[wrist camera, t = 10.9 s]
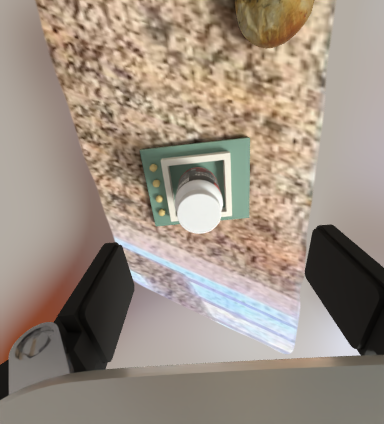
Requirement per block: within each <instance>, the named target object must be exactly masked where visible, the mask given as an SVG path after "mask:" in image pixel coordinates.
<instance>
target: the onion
mask: <svg viewBox="0 0 384 424" xmlns="http://www.w3.org/2000/svg"><path fill="white" fill-rule="evenodd" d="M313 3H314V0H235V9H236V16H237V21H238V25H239V28H240V30H241V32H242V34H243V36H244V37H245V38H246V39H247V40H248V41H249V42H250V43H252V44H254V45H256V46H258V47H262V48H273V47H276V46H279V45H281V44H284V43H285V42H287V41H288V40H289V39H290V38H292V37H293V36H294V35H295V34H296V33H297V32H298V31H299V30H300V29H301V27H302V26H303V25H304V24H305V22H306V21H307V19H308V17H309V16H310V14H311V11H312V8H313Z"/></svg>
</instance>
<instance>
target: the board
mask: <svg viewBox="0 0 384 424" xmlns="http://www.w3.org/2000/svg"><path fill="white" fill-rule="evenodd" d="M140 154H141V159H142V164H143V169H144V173H145V178H146V183H147V187H148V192H149V197H150V202H151V206H152V211H153V216H154V220H155V225H156V226H165V225H176V224H180V223H179V221H178V218H177V212H176V209H175V196H176V192H177V188H178V183H179V180H180V178H181V176H182V175H183V174H184V173H185V172H186V171H187V170H189V169H191V168H195V167H202V168H205V169H207V170H209V171H211V172H212V173H213V174H214V176H215V177H216V179H217V182H218V185H219V189H220V191H221V194H222V198H223V207H222V211H221V219H220V220H229V219H240V218H249V181H250V138H249V137H245V138H236V139H227V140H218V141H209V142H201V143H192V144H183V145H174V146H165V147H157V148H148V149H141V150H140Z"/></svg>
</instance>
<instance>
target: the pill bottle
mask: <svg viewBox="0 0 384 424" xmlns="http://www.w3.org/2000/svg"><path fill="white" fill-rule="evenodd" d="M222 207H223V198H222V194H221V191H220V189H219V185H218V182H217V179H216V177H215V176H214V174H213V173H212V172H211V171H209V170H207V169H205V168H202V167H195V168H191V169H189V170H187V171H186V172H185V173H184V174H183V175H182V176H181V178H180V180H179V183H178V188H177V192H176V196H175V209H176V212H177V218H178V221H179V223H180V224H181V226H182V227H183V228H184V229H186V230H187V231H189V232H192V233H199V234H200V233H206V232H209V231H211V230H212V229H214V228H215V227H216V226H217V225H218V223H219V222H220V219H221V211H222Z"/></svg>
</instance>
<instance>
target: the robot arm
mask: <svg viewBox="0 0 384 424" xmlns="http://www.w3.org/2000/svg"><path fill="white" fill-rule="evenodd" d="M305 276H306V279H307V280H308V282H309V283H310V285H311V286H312V288H313V289H314V291H315V292H316V294H317V295H318V297H319V298H320V300H321V301H322V303H323V304H324V306H325V307H326V309H327V310H328V312H329V314H330V315H331V317H332V318H333V320H334V321H335V323H336V324H337V326H338V327H339V329H340V330H341V332H342V333H343V335H344V336H345V338H346V339H347V340H348V342H349V344H350V345H351V346H352V347H353V348H354V349H357V350H358V352H359V353H360V355H361V356H338V357H318V358H297V359H278V360H277V359H275V360H257V361H238V362H219V363H200V364H183V365H165V366H147V367H131V368H120V369H119V368H118V369H106V366H107V363H108V362H110V361H111V360H112V358H113V354H114V352H115V349H116V345H117V342H118V339H119V336H120V333H121V330H122V327H123V324H124V320H125V317H126V314H127V311H128V308H129V305H130V302H131V298H132V295H133V292H134V283H133V279H132V276H131V273H130V270H129V266H128V263H127V260H126V257H125V254H124V251H123V247H122V246H121V245H119V244H118V243H117V242H115V243H105V244H104V245H103V246H102V248H101V250H100V251H99V253H98V254H97V256H96V257H95V259H94V260H93V262H92V263H91V265H90V267H89V268H88V270H87V272H86V273H85V274H84V276H83V278H82V279H81V281H80V282H79V283H78V285H77V287H76V288H75V290H74V291H73V293H72V294H71V296H70V297H69V299H68V301H67V302H66V304H65V305H64V307H63V308H62V310H61V311H60V313H59V314H58V317H57V318H56V320H55V321H54V323H53V322H46V323H42V324H39V325H37V326H35V327H33V328H31V329H30V330H28V331H27V332H25V333H24V334H23V335H22V336H21V337H20V338H19V339H18V340H17V341H16V343H15V344H14V345H13V347H12V349H11V351H10V354H9V359H8V360H7V361H6V362H4V363H2V364H1V365H0V424H384V268H383V267H382V266H381V265H380V264H379V263H377V262H376V261H375V260H374V259H373V258H371V257H370V256H369V255H368V254H367V253H366V252H364V251H363V250H362V249H361V248H360V247H358V246H357V245H356V244H355V243H354V242H352V241H351V240H350V239H349V238H348V237H346V236H345V235H344V234H343V233H342V232H341V231H340V230H338V229H337V228H336V227H335V226H333V225H319V226H317V228H316V229H314V230H313V232H312V237H311V243H310V248H309V253H308V258H307V263H306V268H305Z"/></svg>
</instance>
